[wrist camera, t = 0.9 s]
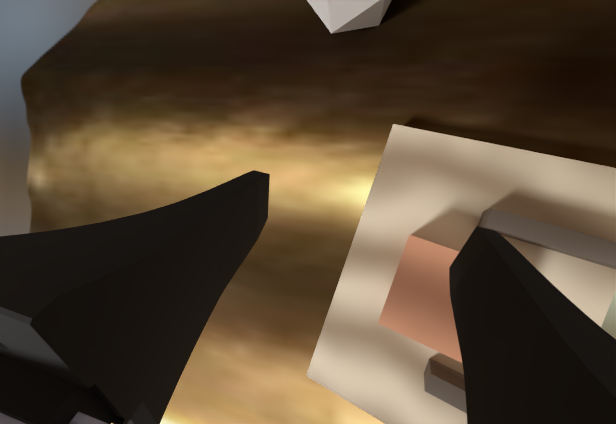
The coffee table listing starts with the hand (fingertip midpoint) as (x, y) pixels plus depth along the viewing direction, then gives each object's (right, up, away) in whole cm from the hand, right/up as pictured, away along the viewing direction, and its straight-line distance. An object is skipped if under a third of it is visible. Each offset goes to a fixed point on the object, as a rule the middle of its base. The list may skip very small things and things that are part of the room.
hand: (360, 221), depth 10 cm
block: (+8, -5, +10) cm, 14 cm away
